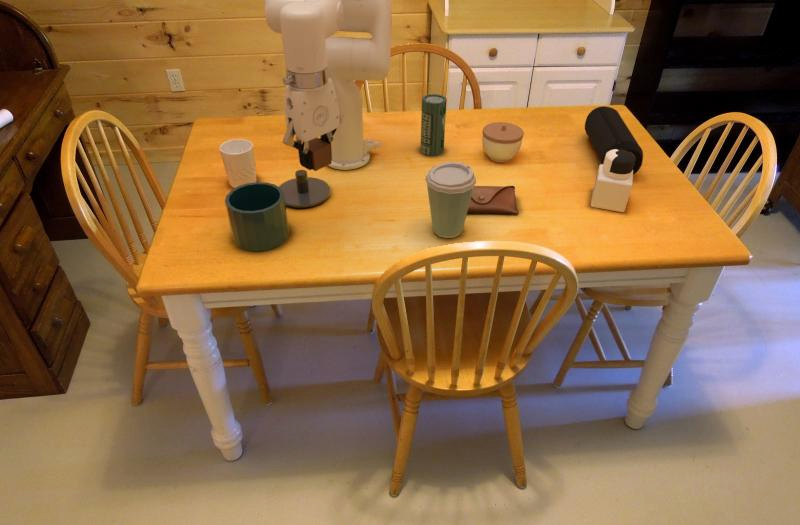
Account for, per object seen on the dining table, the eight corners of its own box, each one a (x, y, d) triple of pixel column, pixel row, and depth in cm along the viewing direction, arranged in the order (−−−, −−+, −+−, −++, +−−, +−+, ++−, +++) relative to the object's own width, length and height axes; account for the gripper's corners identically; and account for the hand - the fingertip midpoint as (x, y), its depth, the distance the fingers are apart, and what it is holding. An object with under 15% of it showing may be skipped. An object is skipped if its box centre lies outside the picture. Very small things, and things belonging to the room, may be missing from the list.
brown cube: (317, 155, 118) (316, 137, 115) (331, 163, 116) (330, 144, 113) (301, 163, 115) (299, 144, 113) (315, 171, 113) (313, 152, 110)
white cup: (251, 192, 138) (244, 155, 131) (221, 188, 139) (213, 152, 132) (264, 176, 144) (258, 140, 137) (235, 172, 145) (228, 137, 138)
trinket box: (508, 145, 158) (512, 113, 152) (526, 163, 150) (532, 131, 144) (473, 150, 155) (476, 119, 149) (490, 169, 147) (494, 136, 141)
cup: (279, 214, 130) (274, 177, 124) (296, 243, 122) (291, 204, 115) (228, 227, 126) (219, 189, 120) (241, 258, 118) (232, 218, 111)
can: (447, 152, 154) (450, 100, 145) (429, 158, 152) (432, 105, 142) (434, 143, 158) (436, 92, 149) (416, 149, 155) (418, 97, 146)
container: (625, 196, 137) (639, 148, 129) (624, 213, 132) (639, 164, 124) (592, 190, 139) (605, 143, 131) (590, 207, 134) (603, 158, 126)
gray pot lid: (319, 176, 144) (317, 155, 140) (338, 201, 135) (336, 179, 131) (270, 188, 139) (266, 166, 135) (286, 215, 130) (282, 192, 126)
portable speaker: (639, 182, 143) (651, 146, 137) (600, 181, 143) (610, 145, 137) (613, 136, 163) (622, 103, 156) (579, 135, 163) (586, 102, 157)
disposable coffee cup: (436, 248, 121) (439, 189, 111) (415, 222, 128) (417, 164, 119) (479, 237, 124) (486, 178, 114) (456, 212, 132) (461, 154, 122)
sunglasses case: (444, 214, 130) (444, 185, 129) (440, 213, 137) (440, 185, 136) (521, 214, 130) (521, 185, 129) (514, 212, 137) (514, 184, 136)
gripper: (283, 95, 97) (295, 185, 109) (354, 69, 106) (358, 154, 118) (257, 83, 101) (272, 171, 113) (328, 58, 110) (335, 142, 122)
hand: (316, 161), depth 115 cm, fingers closed on brown cube, 4 cm apart
